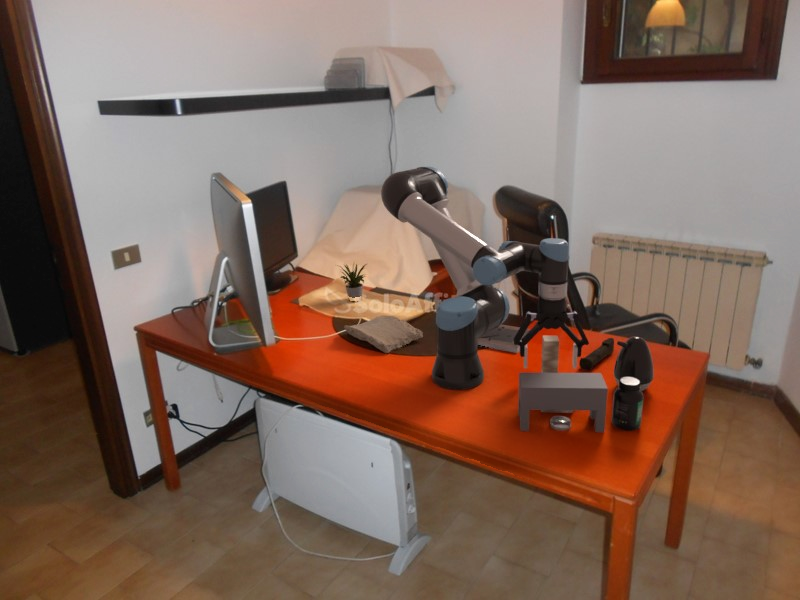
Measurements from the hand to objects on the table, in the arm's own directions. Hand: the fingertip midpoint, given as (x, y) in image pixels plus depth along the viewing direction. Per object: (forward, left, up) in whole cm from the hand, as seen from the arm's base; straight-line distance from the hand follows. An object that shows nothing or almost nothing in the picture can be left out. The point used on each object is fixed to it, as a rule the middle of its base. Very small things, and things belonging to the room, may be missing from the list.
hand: (549, 366), depth 169 cm
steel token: (0, -23, -5) cm, 24 cm away
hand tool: (+16, +15, -5) cm, 23 cm away
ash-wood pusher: (0, -7, -5) cm, 9 cm away
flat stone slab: (-53, +31, -5) cm, 62 cm away
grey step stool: (0, -22, -5) cm, 23 cm away
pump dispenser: (+22, -3, -5) cm, 23 cm away
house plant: (-70, +69, -5) cm, 99 cm away
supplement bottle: (+16, -22, -5) cm, 28 cm away
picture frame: (-14, +31, -6) cm, 35 cm away
